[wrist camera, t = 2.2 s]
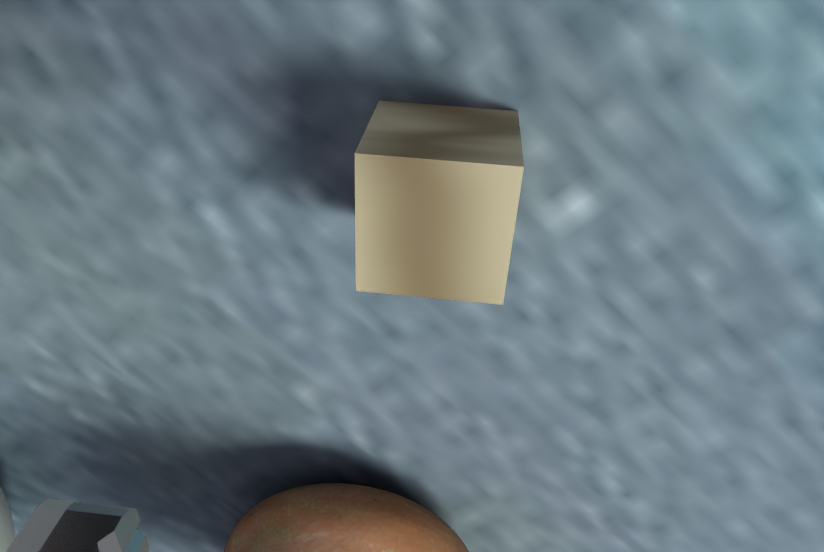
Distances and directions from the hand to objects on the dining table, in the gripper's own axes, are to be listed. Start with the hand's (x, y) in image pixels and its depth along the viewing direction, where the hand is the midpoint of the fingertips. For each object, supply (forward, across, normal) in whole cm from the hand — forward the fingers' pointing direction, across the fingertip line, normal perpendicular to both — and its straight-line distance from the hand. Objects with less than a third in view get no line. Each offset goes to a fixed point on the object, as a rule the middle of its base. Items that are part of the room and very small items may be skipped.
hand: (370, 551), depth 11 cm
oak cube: (+16, 0, 0) cm, 16 cm away
